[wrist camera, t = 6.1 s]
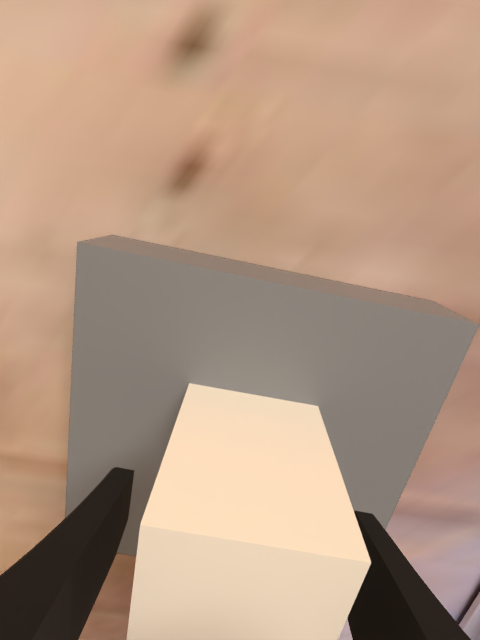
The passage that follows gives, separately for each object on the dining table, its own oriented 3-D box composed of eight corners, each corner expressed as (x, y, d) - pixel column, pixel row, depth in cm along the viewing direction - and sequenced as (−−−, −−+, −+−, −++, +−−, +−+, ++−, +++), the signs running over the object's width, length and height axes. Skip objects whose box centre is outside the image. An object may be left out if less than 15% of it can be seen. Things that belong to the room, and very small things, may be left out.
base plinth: (339, 536, 19) (355, 594, 16) (92, 492, 18) (64, 543, 16) (434, 301, 15) (479, 324, 12) (112, 235, 14) (77, 242, 11)
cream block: (288, 504, 14) (312, 696, 9) (173, 485, 14) (123, 668, 9) (317, 406, 13) (371, 562, 7) (189, 383, 13) (140, 524, 7)
